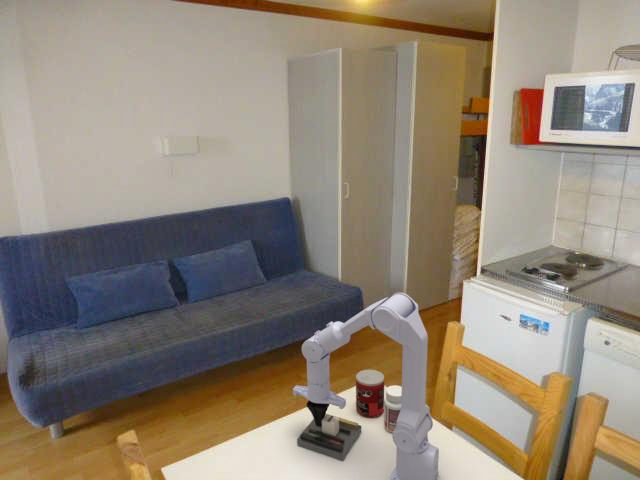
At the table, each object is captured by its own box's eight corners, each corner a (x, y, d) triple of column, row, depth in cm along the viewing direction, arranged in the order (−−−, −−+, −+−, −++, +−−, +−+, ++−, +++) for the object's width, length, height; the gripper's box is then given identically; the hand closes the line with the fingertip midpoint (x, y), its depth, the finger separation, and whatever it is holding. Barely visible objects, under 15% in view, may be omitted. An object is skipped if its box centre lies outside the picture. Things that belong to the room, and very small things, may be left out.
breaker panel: (361, 432, 126) (361, 422, 126) (342, 461, 116) (342, 451, 115) (318, 419, 132) (318, 409, 131) (297, 445, 122) (296, 435, 121)
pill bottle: (411, 428, 127) (412, 392, 124) (394, 437, 124) (395, 400, 121) (396, 417, 132) (396, 381, 129) (379, 425, 129) (379, 389, 126)
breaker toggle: (339, 431, 124) (338, 417, 123) (334, 437, 121) (334, 423, 120) (326, 427, 125) (326, 413, 124) (322, 433, 123) (321, 419, 122)
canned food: (352, 405, 138) (351, 372, 135) (377, 399, 140) (377, 367, 137) (362, 421, 131) (362, 386, 128) (388, 415, 133) (388, 380, 130)
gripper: (350, 377, 121) (350, 422, 125) (301, 365, 127) (303, 408, 131) (338, 391, 115) (339, 439, 119) (288, 378, 121) (290, 423, 125)
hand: (319, 424), depth 124 cm, fingers closed
